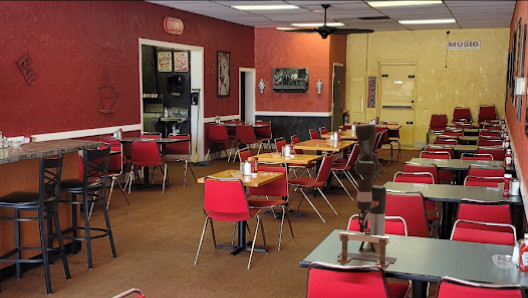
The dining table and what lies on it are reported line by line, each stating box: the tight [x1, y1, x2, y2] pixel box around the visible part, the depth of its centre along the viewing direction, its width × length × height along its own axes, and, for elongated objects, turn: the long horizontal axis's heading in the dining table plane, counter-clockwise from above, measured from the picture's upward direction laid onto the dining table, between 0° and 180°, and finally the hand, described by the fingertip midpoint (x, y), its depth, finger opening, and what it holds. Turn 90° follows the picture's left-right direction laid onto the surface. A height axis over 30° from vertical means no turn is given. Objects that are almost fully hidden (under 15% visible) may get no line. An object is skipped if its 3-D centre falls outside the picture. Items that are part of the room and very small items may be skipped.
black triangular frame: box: [358, 228, 376, 253], centre depth 320 cm, size 9×6×12 cm, turn 77°
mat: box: [337, 251, 397, 265], centre depth 306 cm, size 9×30×1 cm, turn 68°
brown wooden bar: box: [338, 231, 390, 245], centre depth 296 cm, size 3×26×3 cm, turn 68°
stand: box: [337, 231, 390, 269], centre depth 297 cm, size 6×26×15 cm, turn 68°
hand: (363, 230), depth 296 cm, fingers open, 8 cm apart
